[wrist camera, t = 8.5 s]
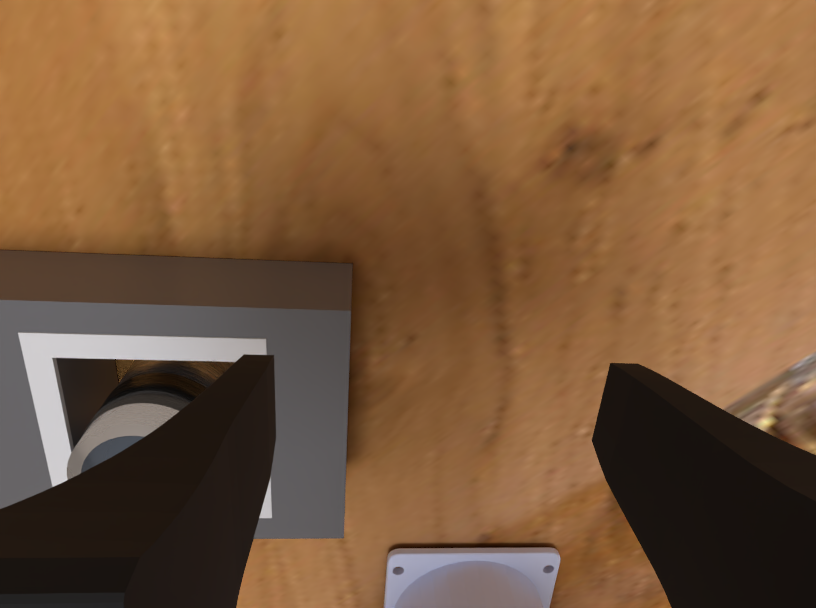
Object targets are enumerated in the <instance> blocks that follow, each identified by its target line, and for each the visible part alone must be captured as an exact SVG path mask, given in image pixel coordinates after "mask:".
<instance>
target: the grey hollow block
mask: <svg viewBox="0 0 816 608" xmlns="http://www.w3.org/2000/svg"><path fill="white" fill-rule="evenodd" d="M352 269H353V264H350V263H325V262H299V261H273V260H247V259H222V258H196V257H170V256H144V255H119V254H93V253H67V252H42V251H16V250H0V509H2V508H4V507H7V506H9V505H12V504H14V503H17V502H19V501H22V500H24V499H26V498H29V497H31V496H34V495H36V494H38V493H41V492H43V491H45V490H47V489H49V488H52V487H54V486H56V485H58V484H61V483H63V482H65V481H67V480H68V479H67V464H68V460H69V457H70V455H71V453H72V451H73V449H74V448H75V446H76V445H77V443H78V442H79V441H80V439H81V438H82V436H83V433H84V431H85V429H86V428H87V426H88V424H89V423H90V421H91V420H92V419H93V417H94V416H95V414H96V413H97V411H98V410H99V409H100V407H101V406H102V404H103V403H104V401H105V400H106V399H107V397H108V396H109V394H110V393H111V392H112V391H113V390H114V389H115V388H116V387H117V386H118V384H119V383H118V377H117V370H116V364H115V359H131V360H175V361H219V362H236V361H237V360H238V359H239V358H241V357H242V356H243V355H244V354H248V355H274V372H275V409H276V442H275V449H274V456H273V463H272V470H271V476H270V481H269V485H268V488H267V492H266V496H265V499H264V503H263V506H262V510H261V514H260V517H259V521H258V524H257V528H256V531H255V535H254V538H253V539H299V538H344V514H345V484H346V453H347V422H348V392H349V361H350V330H351V300H352Z"/></svg>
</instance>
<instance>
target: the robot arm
mask: <svg viewBox="0 0 816 608" xmlns="http://www.w3.org/2000/svg"><path fill="white" fill-rule="evenodd" d="M275 442H276V409H275V372H274V355H248V354H244V355H243V356H242V357H241V358H239V359H238V360H237V361H236V362H235V363H234V364H233V365H232V366H230V367H229V368H228V369H227V370H226V371H225V372H224V373H223V374H222V375H221V376H220V377H219V378H218V379H217V380H215V381H214V382H213V383H212V384H211V385H210V386H209V387H208V388H207V389H205V390H204V391H203V392H202V393H201V394H200V395H199V396H197V397H196V398H195V399H194V400H193V401H192V402H191V403H189V404H188V405H187V406H186V407H184V408H183V409H182V410H180V411H179V412H178V413H177V414H175V415H174V416H173V417H171V418H170V419H169V420H168V421H166V422H165V423H164V424H162V425H161V426H160V427H158V428H157V429H155V430H154V431H153V432H151V433H150V434H148V435H147V436H145V437H144V438H142V439H141V440H139V441H137V442H136V443H134V444H133V445H131V446H129V447H128V448H126V449H125V450H123V451H121V452H120V453H118V454H116V455H114V456H113V457H111V458H109V459H107V460H105V461H103V462H101V463H100V464H98V465H96V466H94V467H92V468H90V469H88V470H86V471H84V472H82V473H80V474H79V475H77V476H75V477H73V478H71V479H69V480H67V481H65V482H63V483H61V484H58V485H56V486H54V487H52V488H49V489H47V490H45V491H43V492H41V493H38V494H36V495H34V496H31V497H29V498H26V499H24V500H22V501H19V502H17V503H14V504H12V505H9V506H7V507H4V508H2V509H0V608H236V605H237V600H238V595H239V590H240V586H241V582H242V578H243V574H244V570H245V566H246V563H247V559H248V556H249V552H250V549H251V545H252V542H253V538H254V535H255V531H256V528H257V524H258V521H259V517H260V514H261V510H262V506H263V503H264V499H265V496H266V492H267V488H268V485H269V481H270V476H271V470H272V463H273V456H274V449H275ZM592 442H593V445H594V448H595V451H596V454H597V457H598V460H599V463H600V465H601V468H602V471H603V473H604V476H605V478H606V481H607V483H608V485H609V487H610V489H611V491H612V492H613V494H614V496H615V498H616V500H617V502H618V504H619V506H620V508H621V509H622V511H623V513H624V515H625V517H626V519H627V520H628V522H629V524H630V526H631V528H632V530H633V531H634V533H635V535H636V537H637V539H638V541H639V542H640V544H641V546H642V548H643V550H644V552H645V554H646V555H647V557H648V559H649V561H650V563H651V565H652V566H653V568H654V570H655V572H656V574H657V576H658V578H659V580H660V582H661V584H662V586H663V588H664V591H665V593H666V595H667V598H668V600H669V603H670V605H671V607H672V608H816V455H814V454H811V453H809V452H807V451H805V450H802V449H800V448H798V447H795V446H793V445H791V444H789V443H787V442H785V441H782V440H780V439H778V438H776V437H774V436H772V435H770V434H768V433H766V432H764V431H762V430H760V429H758V428H756V427H754V426H752V425H750V424H748V423H746V422H745V421H743V420H741V419H739V418H737V417H735V416H733V415H732V414H730V413H728V412H726V411H724V410H722V409H721V408H719V407H717V406H715V405H713V404H712V403H710V402H708V401H706V400H705V399H703V398H701V397H699V396H698V395H696V394H694V393H692V392H691V391H689V390H687V389H685V388H683V387H682V386H680V385H678V384H676V383H675V382H673V381H671V380H669V379H668V378H666V377H664V376H662V375H660V374H658V373H656V372H654V371H652V370H650V369H648V368H646V367H644V366H641V365H639V364H625V363H610V367H609V371H608V375H607V379H606V384H605V388H604V392H603V396H602V400H601V404H600V409H599V413H598V417H597V421H596V425H595V429H594V434H593V438H592ZM560 561H561V560H560V555H559V552H558V551H557V550H556V549H555V548H550V547H534V548H398V549H394V550H392V551H391V552H390V553H389V554H388V556H387V569H386V583H385V596H384V608H549V607H550V603H551V598H552V594H553V590H554V586H555V582H556V577H557V573H558V569H559V565H560ZM548 565H549V566H548ZM545 566H546V567H545ZM395 567H400V568H395Z"/></svg>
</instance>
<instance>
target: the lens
mask: <svg viewBox="0 0 816 608" xmlns="http://www.w3.org/2000/svg"><path fill="white" fill-rule="evenodd" d="M234 363H235V362H219V361H175V360H135V361H134V362H133V364H132V365H131V367H130V368H129V370H128V371H127V373H126V374H125V375H124V377H123V378H122V380H121V381H120V383H119V384H118V386H117V387H116V388H115V389H114V390H113V391H112V392H111V393H110V394H109V396H108V397H107V399H106V400H105V401H104V403H103V404H102V406H101V407H100V409H99V410H98V411H97V413H96V414H95V416H94V417H93V419H92V420H91V421H90V423H89V424H88V426H87V428H86V429H85V431H84V433H83V436H82V438H81V439H80V441H79V442H78V443H77V445H76V446H75V448H74V449H73V451H72V453H71V455H70V457H69V460H68V464H67V479H68V480H69V479H71V478H73V477H75V476H77V475H79V474H80V473H82V472H84V471H86V470H88V469H90V468H92V467H94V466H96V465H98V464H100V463H101V462H103V461H105V460H107V459H109V458H111V457H113V456H114V455H116V454H118V453H120V452H121V451H123V450H125V449H126V448H128V447H129V446H131V445H133V444H134V443H136V442H137V441H139V440H141V439H142V438H144V437H145V436H147V435H148V434H150V433H151V432H153V431H154V430H155V429H157V428H158V427H160V426H161V425H162V424H164V423H165V422H166V421H168V420H169V419H170V418H171V417H173V416H174V415H175V414H177V413H178V412H179V411H180V410H182V409H183V408H184V407H186V406H187V405H188V404H189V403H191V402H192V401H193V400H194V399H195V398H196V397H197V396H199V395H200V394H201V393H202V392H203V391H204V390H205V389H207V388H208V387H209V386H210V385H211V384H212V383H213V382H214V381H215V380H217V379H218V378H219V377H220V376H221V375H222V374H223V373H224V372H225V371H226V370H227V369H228V368H229V367H230V366H232V365H233V364H234Z"/></svg>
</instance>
